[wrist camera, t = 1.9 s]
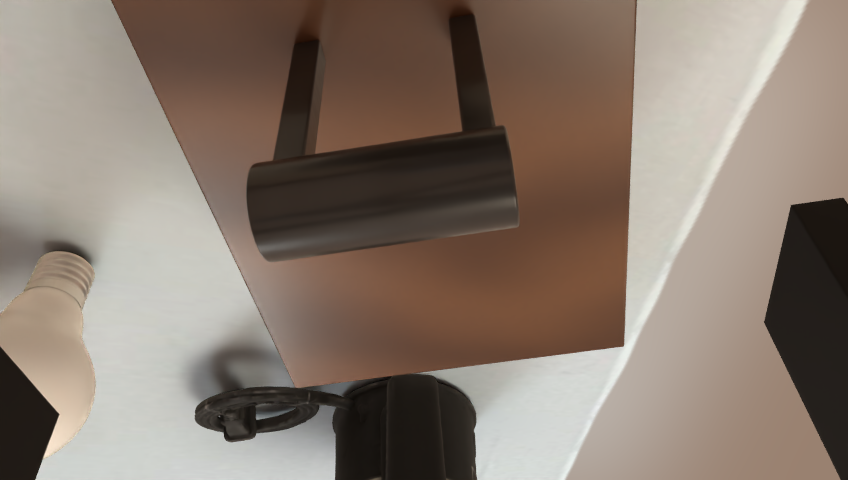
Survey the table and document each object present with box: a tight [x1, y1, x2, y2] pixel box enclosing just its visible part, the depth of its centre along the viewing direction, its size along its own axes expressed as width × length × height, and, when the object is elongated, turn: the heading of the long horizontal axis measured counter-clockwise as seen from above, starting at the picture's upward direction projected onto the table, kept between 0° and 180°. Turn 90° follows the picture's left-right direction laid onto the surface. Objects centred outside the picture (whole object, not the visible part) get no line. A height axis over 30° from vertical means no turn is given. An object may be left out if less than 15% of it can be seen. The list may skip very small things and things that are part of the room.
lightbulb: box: [0, 251, 96, 459], centre depth 34 cm, size 6×6×11 cm
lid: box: [111, 0, 637, 388], centre depth 21 cm, size 17×13×8 cm
